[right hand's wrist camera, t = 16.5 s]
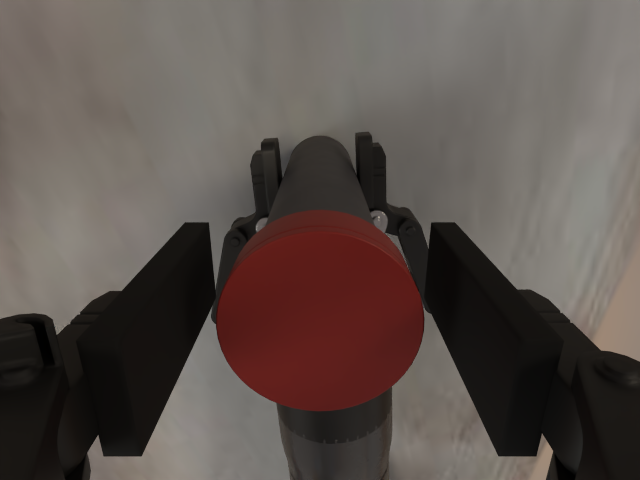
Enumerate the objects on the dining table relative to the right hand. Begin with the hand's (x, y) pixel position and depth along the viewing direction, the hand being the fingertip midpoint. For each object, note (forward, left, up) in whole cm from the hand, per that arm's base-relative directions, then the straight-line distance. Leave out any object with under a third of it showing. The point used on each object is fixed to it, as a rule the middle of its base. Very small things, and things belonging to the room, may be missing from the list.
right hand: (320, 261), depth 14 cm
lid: (0, 0, +4) cm, 4 cm away
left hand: (-1, -3, -10) cm, 10 cm away
